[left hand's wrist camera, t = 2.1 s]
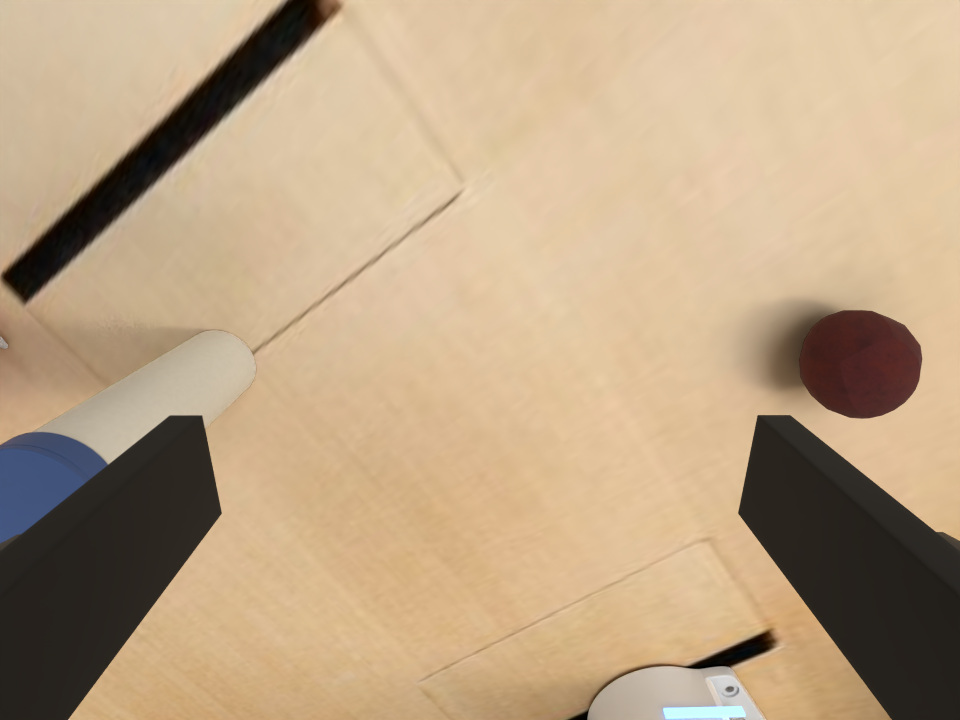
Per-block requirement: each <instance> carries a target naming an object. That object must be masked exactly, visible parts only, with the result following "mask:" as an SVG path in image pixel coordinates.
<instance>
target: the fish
mask: <svg viewBox="0 0 960 720" xmlns="http://www.w3.org/2000/svg"><path fill="white" fill-rule="evenodd" d="M0 348H2V349H6V348H8V345H7V343H6V342H5V341H4V339H3V338H2V337H0Z"/></svg>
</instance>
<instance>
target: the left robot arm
mask: <svg viewBox="0 0 960 720" xmlns="http://www.w3.org/2000/svg"><path fill="white" fill-rule="evenodd" d="M221 514H222V512H221V507H220V502H219V497H218V492H217V487H216V482H215V477H214V472H213V467H212V462H211V457H210V452H209V447H208V442H207V437H206V432H205V427H204V421H203V416H202V415H170V416H168V417H167V418H166V419H165V420H163V421H162V422H161V423H160V424H158V425H157V426H156V427H155V428H153V429H152V430H151V431H150V432H148V433H147V434H146V435H145V436H143V437H142V438H141V439H140V440H138V441H137V442H136V443H135V444H133V445H132V446H131V447H130V448H128V449H127V450H126V451H125V452H123V453H122V454H121V455H120V456H118V457H117V458H116V459H115V460H113V461H112V462H111V463H110V464H108V465H107V466H106V467H105V468H103V469H102V470H101V471H100V472H98V473H97V474H96V475H95V476H93V477H92V478H91V479H90V480H88V481H87V482H86V483H85V484H83V485H82V486H81V487H80V488H78V489H77V490H76V491H75V492H73V493H72V494H71V495H70V496H68V497H67V498H66V499H65V500H63V501H62V502H61V503H60V504H58V505H57V506H56V507H55V508H53V509H52V510H51V511H50V512H49V513H47V514H46V515H45V516H44V517H42V518H41V519H40V520H39V521H37V522H36V523H35V524H34V525H32V526H31V527H30V528H29V529H27V530H26V531H25V532H24V533H22V534H17V535H15V536H13V537H11V538H10V539H8V540H6V541H4V542H2V543H0V720H68V719H69V718H70V716H71V715H72V714H73V712H74V711H75V710H76V708H77V707H78V705H79V704H80V703H81V701H82V700H83V699H84V697H85V696H86V695H87V693H88V692H89V691H90V689H91V688H92V687H93V685H94V684H95V683H96V681H97V680H98V679H99V677H100V676H101V675H102V673H103V672H104V671H105V669H106V668H107V667H108V665H109V664H110V663H111V661H112V660H113V659H114V657H115V656H116V655H117V653H118V652H119V651H120V649H121V648H122V646H123V645H124V644H125V642H126V641H127V640H128V638H129V637H130V636H131V634H132V633H133V632H134V630H135V629H136V628H137V626H138V625H139V624H140V622H141V621H142V620H143V618H144V617H145V616H146V614H147V613H148V612H149V610H150V609H151V608H152V606H153V605H154V604H155V602H156V601H157V600H158V598H159V597H160V596H161V594H162V593H163V591H164V590H165V589H166V587H167V586H168V585H169V583H170V582H171V581H172V579H173V578H174V577H175V575H176V574H177V573H178V571H179V570H180V569H181V567H182V566H183V565H184V563H185V562H186V561H187V559H188V558H189V557H190V555H191V554H192V553H193V551H194V550H195V549H196V547H197V546H198V545H199V543H200V542H201V541H202V539H203V538H204V537H205V535H206V534H207V532H208V531H209V530H210V528H211V527H212V526H213V524H214V523H215V522H216V520H217V519H218V518H219V516H220V515H221ZM738 514H739V515H740V516H741V518H742V519H743V520H744V522H745V523H746V524H747V526H748V527H749V528H750V530H751V531H752V532H753V534H754V535H755V537H756V538H757V539H758V541H759V542H760V543H761V545H762V546H763V547H764V549H765V550H766V551H767V553H768V554H769V555H770V557H771V558H772V559H773V561H774V562H775V563H776V565H777V566H778V567H779V569H780V570H781V571H782V573H783V574H784V575H785V577H786V578H787V579H788V581H789V582H790V583H791V585H792V586H793V587H794V589H795V590H796V591H797V593H798V594H799V596H800V597H801V598H802V600H803V601H804V602H805V604H806V605H807V606H808V608H809V609H810V610H811V612H812V613H813V614H814V616H815V617H816V618H817V620H818V621H819V622H820V624H821V625H822V626H823V628H824V629H825V630H826V632H827V633H828V634H829V636H830V637H831V638H832V640H833V641H834V642H835V644H836V645H837V646H838V648H839V649H840V651H841V652H842V653H843V655H844V656H845V657H846V659H847V660H848V661H849V663H850V664H851V665H852V667H853V668H854V669H855V671H856V672H857V673H858V675H859V676H860V677H861V679H862V680H863V681H864V683H865V684H866V685H867V687H868V688H869V689H870V691H871V692H872V693H873V695H874V696H875V697H876V699H877V700H878V701H879V703H880V704H881V705H882V707H883V708H884V710H885V711H886V712H887V714H888V715H889V716H890V718H891V719H892V720H960V541H959V540H957V539H955V538H953V537H951V536H949V535H947V534H945V533H943V532H935V531H934V530H933V529H931V528H930V527H929V526H928V525H926V524H925V523H924V522H923V521H921V520H920V519H919V518H918V517H916V516H915V515H914V514H913V513H911V512H910V511H909V510H908V509H906V508H905V507H904V506H903V505H902V504H900V503H899V502H898V501H897V500H895V499H894V498H893V497H892V496H890V495H889V494H888V493H887V492H885V491H884V490H883V489H882V488H880V487H879V486H878V485H877V484H875V483H874V482H873V481H872V480H870V479H869V478H868V477H867V476H865V475H864V474H863V473H862V472H860V471H859V470H858V469H857V468H855V467H854V466H853V465H852V464H850V463H849V462H848V461H847V460H845V459H844V458H843V457H842V456H840V455H839V454H838V453H837V452H835V451H834V450H833V449H832V448H830V447H829V446H828V445H827V444H825V443H824V442H823V441H822V440H820V439H819V438H818V437H817V436H815V435H814V434H813V433H812V432H810V431H809V430H808V429H807V428H805V427H804V426H803V425H802V424H800V423H799V422H798V421H797V420H795V419H794V418H793V417H792V416H790V415H758V416H757V421H756V427H755V432H754V437H753V442H752V447H751V452H750V457H749V462H748V467H747V472H746V477H745V482H744V487H743V492H742V497H741V502H740V507H739V512H738Z"/></svg>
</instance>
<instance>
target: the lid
mask: <svg viewBox="0 0 960 720" xmlns="http://www.w3.org/2000/svg"><path fill="white" fill-rule="evenodd" d="M107 465H108V464H107V463H106V462H105V461H104V460H103V459H102V458H101V457H100V456H99V455H98V454H97V453H96V452H95V451H93V450H92V449H91V448H89V447H88V446H86V445H85V444H83V443H81V442H79V441H77V440H75V439H72V438H70V437H67V436H64V435H61V434H56V433H50V432H31V433H25V434H22V435H18V436H16V437H14V438H12V439H10V440H8V441H7V442H5V443H3V444H1V445H0V543H2V542H4V541H6V540H8V539H10V538H11V537H13V536H15V535H17V534H22V533H24V532H25V531H26V530H27V529H29V528H30V527H31V526H32V525H34V524H35V523H36V522H37V521H39V520H40V519H41V518H42V517H44V516H45V515H46V514H47V513H49V512H50V511H51V510H52V509H53V508H55V507H56V506H57V505H58V504H60V503H61V502H62V501H63V500H65V499H66V498H67V497H68V496H70V495H71V494H72V493H73V492H75V491H76V490H77V489H78V488H80V487H81V486H82V485H83V484H85V483H86V482H87V481H88V480H90V479H91V478H92V477H93V476H95V475H96V474H97V473H98V472H100V471H101V470H102V469H103V468H105V467H106V466H107Z"/></svg>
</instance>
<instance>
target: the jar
mask: <svg viewBox="0 0 960 720" xmlns="http://www.w3.org/2000/svg"><path fill="white" fill-rule="evenodd" d="M255 374H256V364H255V360H254V357H253V354H252V352H251V351H250V349H249V348H248V346H247V345H246V344H245V343H244V342H243V341H242V340H240V339H239V338H238V337H236V336H234V335H232V334H230V333H228V332H224V331H219V330H209V331H204V332H201V333H199V334H197V335H195V336H194V337H192V338H190V339H189V340H187V341H185V342H184V343H182V344H180V345H179V346H177V347H175V348H173V349H172V350H170V351H168V352H167V353H165V354H163V355H162V356H160V357H158V358H157V359H155V360H153V361H152V362H150V363H148V364H146V365H145V366H143V367H141V368H140V369H138V370H136V371H135V372H133V373H131V374H130V375H128V376H126V377H124V378H123V379H121V380H119V381H118V382H116V383H114V384H113V385H111V386H109V387H108V388H106V389H104V390H103V391H101V392H99V393H97V394H96V395H94V396H92V397H91V398H89V399H87V400H86V401H84V402H82V403H81V404H79V405H77V406H76V407H74V408H72V409H70V410H69V411H67V412H65V413H64V414H62V415H60V416H59V417H57V418H55V419H54V420H52V421H50V422H48V423H47V424H45V425H43V426H42V427H40V428H38V429H37V430H35V431H33V432H50V433H56V434H61V435H64V436H67V437H70V438H72V439H75V440H77V441H79V442H81V443H83V444H85V445H86V446H88V447H89V448H91V449H92V450H93V451H95V452H96V453H97V454H98V455H99V456H100V457H101V458H102V459H103V460H104V461H105V462H106V463H107V464H110V463H111V462H112V461H113V460H115V459H116V458H117V457H118V456H120V455H121V454H122V453H123V452H125V451H126V450H127V449H128V448H130V447H131V446H132V445H133V444H135V443H136V442H137V441H138V440H140V439H141V438H142V437H143V436H145V435H146V434H147V433H148V432H150V431H151V430H152V429H153V428H155V427H156V426H157V425H158V424H160V423H161V422H162V421H163V420H165V419H166V418H167V417H168V416H170V415H202V416H203V421H204V427H205V429H206V428H207V427H208V426H209V425H210V424H211V423H212V422H213V421H214V420H215V419H216V418H217V417H218V416H219V415H220V414H221V413H223V412H224V411H225V410H226V409H227V408H228V407H229V406H230V405H231V404H232V403H233V402H234V401H235V400H236V399H237V398H238V397H239V396H240V395H241V394H242V393H243V392H245V391H246V390H247V389H248V388H249V386H250V385H251V384H252V382H253V380H254V378H255Z"/></svg>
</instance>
